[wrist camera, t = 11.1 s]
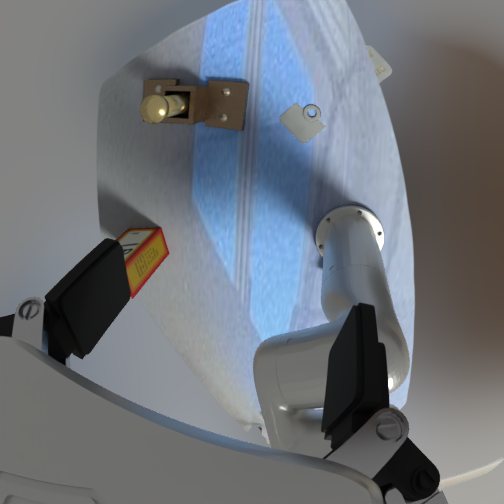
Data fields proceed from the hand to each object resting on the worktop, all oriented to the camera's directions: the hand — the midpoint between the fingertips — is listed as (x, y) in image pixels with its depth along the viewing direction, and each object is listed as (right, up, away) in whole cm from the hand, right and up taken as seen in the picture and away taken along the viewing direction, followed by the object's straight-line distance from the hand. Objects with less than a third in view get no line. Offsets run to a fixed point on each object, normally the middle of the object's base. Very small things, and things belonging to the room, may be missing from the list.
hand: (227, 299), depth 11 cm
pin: (-9, +27, +32) cm, 43 cm away
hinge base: (-9, +27, +32) cm, 43 cm away
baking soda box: (-22, +4, +51) cm, 56 cm away
